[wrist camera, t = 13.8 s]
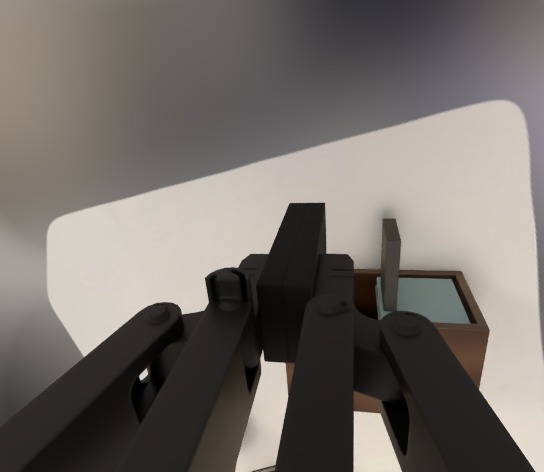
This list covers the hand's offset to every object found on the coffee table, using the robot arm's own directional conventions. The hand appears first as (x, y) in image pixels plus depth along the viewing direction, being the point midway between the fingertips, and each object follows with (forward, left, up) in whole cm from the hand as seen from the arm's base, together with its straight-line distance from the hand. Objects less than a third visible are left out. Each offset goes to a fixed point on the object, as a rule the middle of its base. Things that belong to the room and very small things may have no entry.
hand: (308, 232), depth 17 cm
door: (+15, +2, -23) cm, 28 cm away
